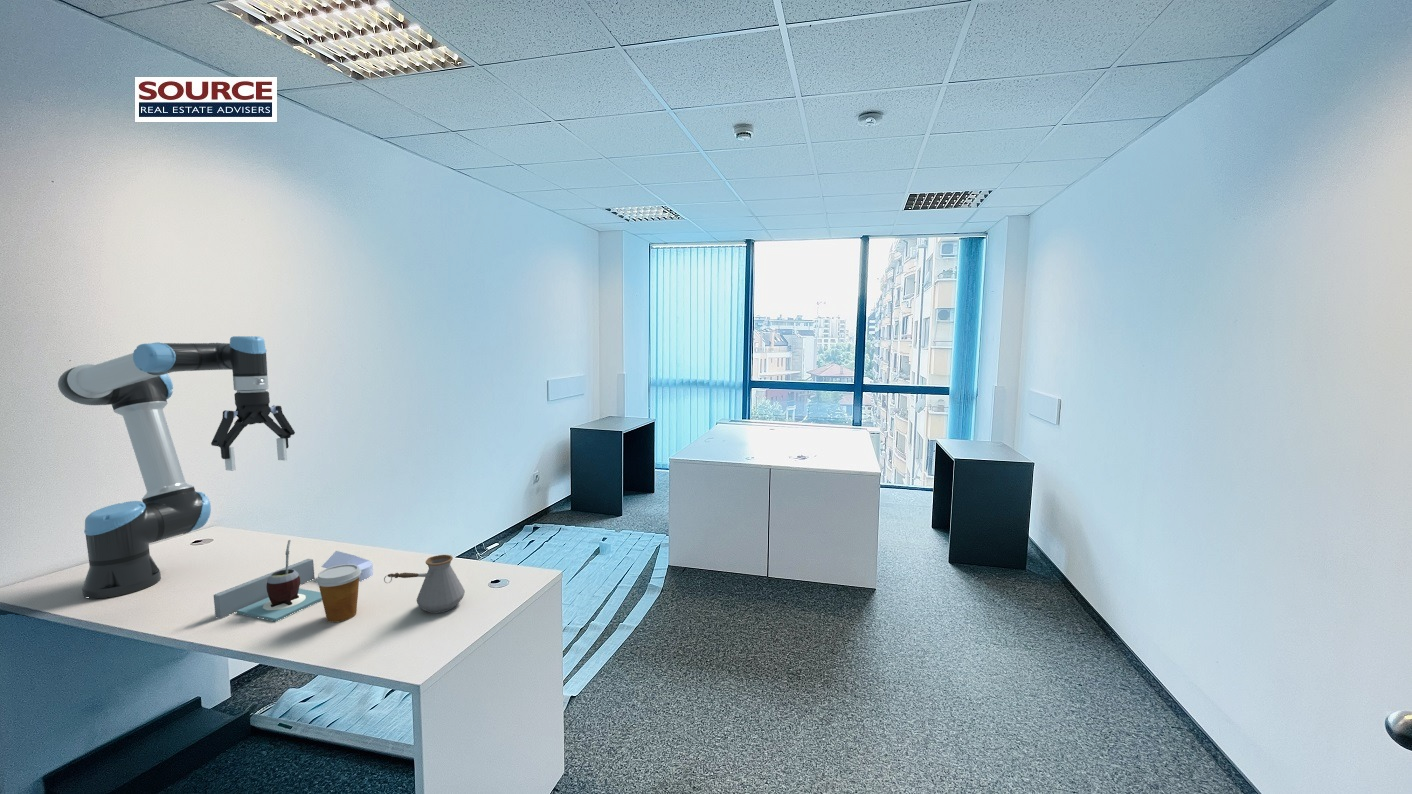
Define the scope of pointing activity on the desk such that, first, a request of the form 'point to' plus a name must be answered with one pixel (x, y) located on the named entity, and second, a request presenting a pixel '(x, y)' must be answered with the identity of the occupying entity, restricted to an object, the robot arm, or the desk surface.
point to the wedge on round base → (345, 558)
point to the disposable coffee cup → (339, 591)
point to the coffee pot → (437, 585)
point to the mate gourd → (283, 584)
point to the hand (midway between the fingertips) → (257, 465)
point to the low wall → (255, 590)
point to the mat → (281, 606)
